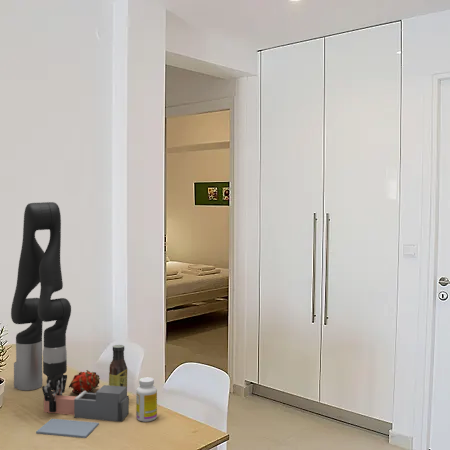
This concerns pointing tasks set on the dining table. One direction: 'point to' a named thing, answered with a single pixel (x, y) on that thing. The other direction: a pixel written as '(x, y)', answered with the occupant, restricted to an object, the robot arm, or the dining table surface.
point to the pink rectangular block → (62, 405)
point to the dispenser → (103, 404)
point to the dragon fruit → (84, 382)
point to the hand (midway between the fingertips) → (55, 409)
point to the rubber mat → (67, 428)
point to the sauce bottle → (118, 367)
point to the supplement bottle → (146, 400)
